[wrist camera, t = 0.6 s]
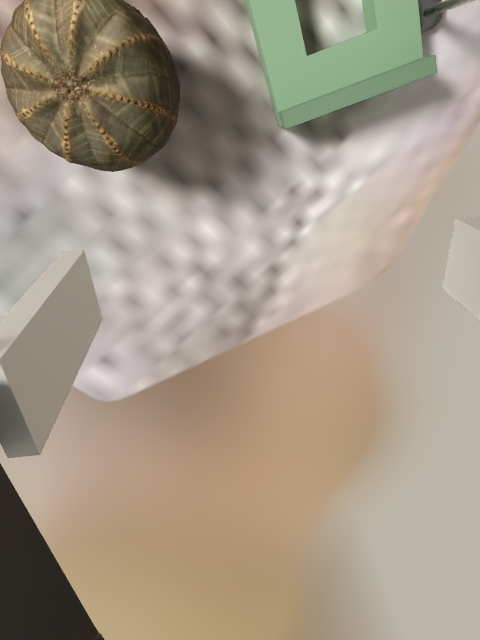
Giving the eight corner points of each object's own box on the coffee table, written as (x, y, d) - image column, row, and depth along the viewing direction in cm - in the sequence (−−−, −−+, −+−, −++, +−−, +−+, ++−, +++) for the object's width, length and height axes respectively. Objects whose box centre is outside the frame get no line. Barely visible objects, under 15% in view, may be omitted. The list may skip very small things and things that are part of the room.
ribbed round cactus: (126, -27, 31) (82, -90, 20) (208, 113, 35) (207, 120, 25) (19, 62, 33) (-71, 47, 22) (110, 182, 38) (70, 216, 27)
